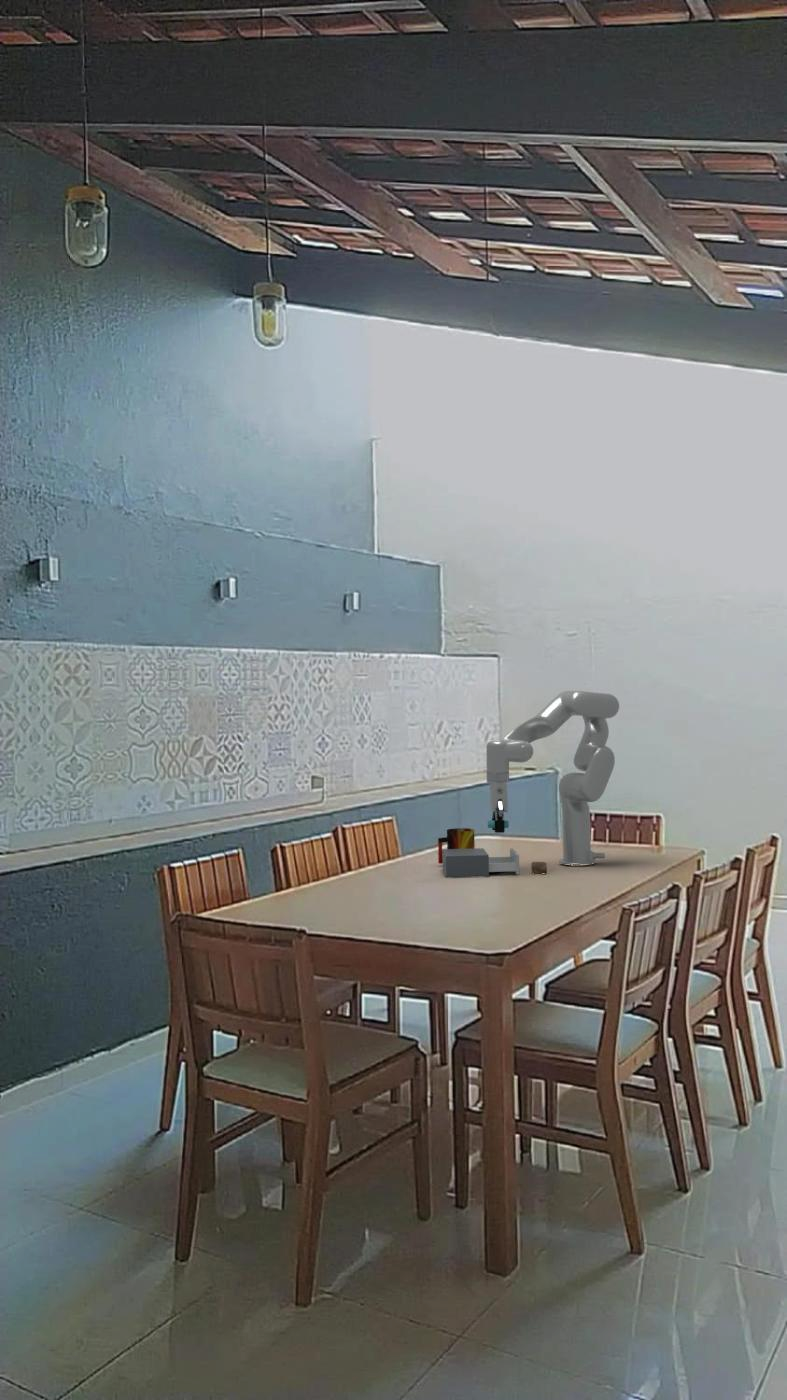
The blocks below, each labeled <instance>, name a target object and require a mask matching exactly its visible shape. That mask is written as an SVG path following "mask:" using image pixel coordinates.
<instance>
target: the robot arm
mask: <svg viewBox="0 0 787 1400" xmlns="http://www.w3.org/2000/svg"><path fill="white" fill-rule="evenodd" d="M618 700H619V699H618V698H617V697H616V696H615V695H614V694H611V693H602V692H594V691H593V692H590V691H583V690H566V691H562V692H561V693H559V694H557V695H555V697H554V698H553V699H552V700H551V701H550V702H549V703H548V704H547V705H546V706H545V707H544V708H543V709H542V710H540V712H538V713H537V714H536V715H535V716H533V717H531V718H529V719H528V720H526V721H525V722H523V723H521V724H519V725H518V726H516V727H515V728H513V729H512V730H511V731H510V732H509V733H508V734H506V735H505V736H504V738H502V739H501V740H491V741H488V742H487V743H486V783H489V801H490V810H491V811H492V814H491V815H492V817H491V820H495V828H491V829H492V831H494V833H496V834H497V833H498V834H500V833H501V834H502V833H503V834H504V833H505V829H506V828H505V825H504V820H505V814H504V813H508V812H509V804H508V785H507V783H510V763H511V762H512V763H519V764H520V763H521V764H522V763H526V762H528V761H530V760H531V759H532V757H533V755H534V748H533V746H532V744H531V743H532V742H535V741H538V740H541V739H543V738H547V737H549V736H552V735H554V734H555V733H556V732H557V731H558V730H559V729H560V728H561V727H562V726H563V725H564V724H565V723H566V722H567V721H568V720H569V719H570V718H572V717H574V716H580V717H582V718H583V719H582V720H583V722H584V731H583V733H582V736H581V739H580V742H579V744H578V747H577V748H576V751H575V753H574V757H573V764H574V767H575V768H576V769H577V770H578V771H581V772H569V773H566V774H565V775H564V776H562V777H561V779H560V781H559V783H558V792H559V797H560V803H561V816H562V818H561V819H562V820H561V821H562V822H561V823H562V824H561V825H562V827H561V828H562V857H563V858H562V859H559V860H558V864H559V863H561V864H570V865H571V864H573V865H580V864H592V863H595V862H596V859H606V858H605V857H606V856H605V855H606V854H605V852H594V851H593V850H592V848H591V847H592V846H591V842H592V841H591V812H590V811H591V810H590V807H589V803H593V802H596V801H598V800H600V799H601V797H602V796H603V794H604V792H605V790H606V787H607V785H608V783H609V780H610V778H611V775H612V773H613V771H614V768H615V764H616V763H615V762H616V761H615V758H616V757H615V754H614V752H613V750H612V749H611V748H610V747H608V746H606V744H607V741H608V739H609V725H608V722H607V719H611V718H614V717H615V716H616V715H617V714H618V713H619V710H620V702H619V701H618ZM582 772H583V773H582Z"/></svg>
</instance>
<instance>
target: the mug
mask: <svg viewBox="0 0 787 1400" xmlns="http://www.w3.org/2000/svg"><path fill="white" fill-rule="evenodd" d="M437 840H438V841H437V842H438V843H437V846H438V853H437V855H438V859H437V860H438V864H440V865H442V864H443V862H442V849H443V843H447V844H446V849H476V848H475V847H476V846H475V843H476V842H475V829H474V828H468V827H467V828H463V827H461V828H448V829H446V837H438V838H437Z"/></svg>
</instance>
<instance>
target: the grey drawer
mask: <svg viewBox="0 0 787 1400" xmlns="http://www.w3.org/2000/svg"><path fill="white" fill-rule="evenodd" d="M495 872H496V873H497V872H500V873H501V872H514V874H515V875H520V854H519V853H518V852H517V851H516V850H515V849H514V848H510V849H509V856H489V873H495Z"/></svg>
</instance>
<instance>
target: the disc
mask: <svg viewBox="0 0 787 1400" xmlns="http://www.w3.org/2000/svg"><path fill="white" fill-rule="evenodd" d="M509 822H510V821H509V820H507V819H506V820H505V819H504V825H505V829H508V828H509V825H510V823H509ZM487 828H490V829H492V828H495V820H492V819H491V820H487Z"/></svg>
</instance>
